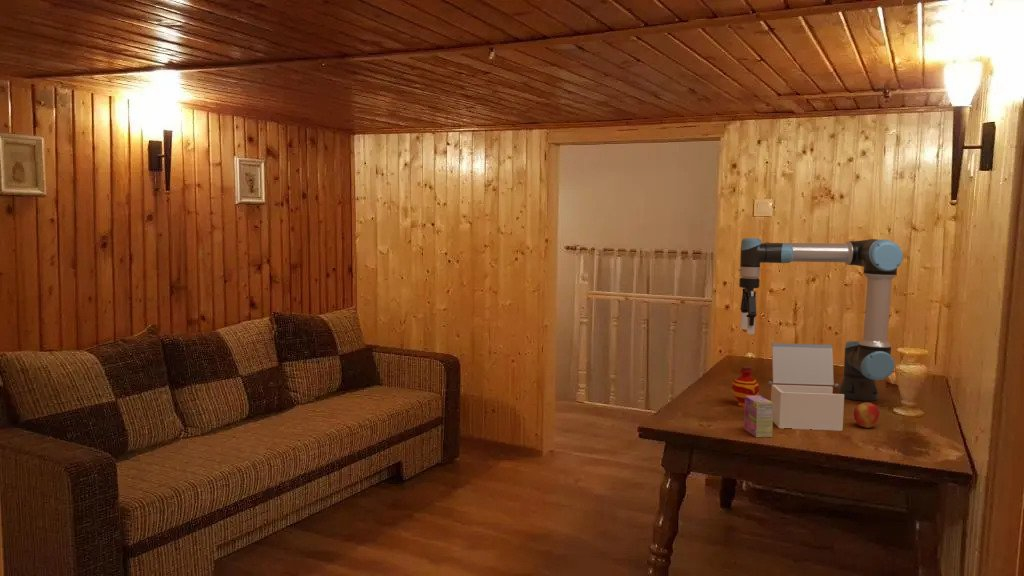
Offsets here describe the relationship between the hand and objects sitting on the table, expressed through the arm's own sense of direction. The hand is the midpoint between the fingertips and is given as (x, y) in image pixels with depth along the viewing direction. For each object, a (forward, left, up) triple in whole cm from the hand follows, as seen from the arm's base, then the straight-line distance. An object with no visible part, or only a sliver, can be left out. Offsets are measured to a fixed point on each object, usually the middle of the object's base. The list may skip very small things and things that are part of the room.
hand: (747, 331), depth 301 cm
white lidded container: (-14, +34, -28) cm, 46 cm away
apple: (-34, +34, -28) cm, 56 cm away
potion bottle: (+2, +8, -28) cm, 29 cm away
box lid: (-14, +26, -8) cm, 31 cm away
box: (+6, +48, -28) cm, 56 cm away
